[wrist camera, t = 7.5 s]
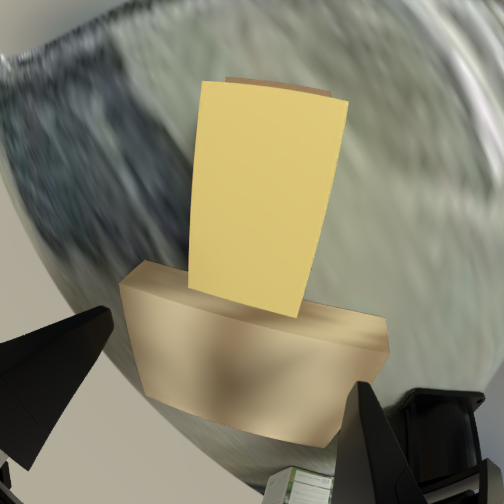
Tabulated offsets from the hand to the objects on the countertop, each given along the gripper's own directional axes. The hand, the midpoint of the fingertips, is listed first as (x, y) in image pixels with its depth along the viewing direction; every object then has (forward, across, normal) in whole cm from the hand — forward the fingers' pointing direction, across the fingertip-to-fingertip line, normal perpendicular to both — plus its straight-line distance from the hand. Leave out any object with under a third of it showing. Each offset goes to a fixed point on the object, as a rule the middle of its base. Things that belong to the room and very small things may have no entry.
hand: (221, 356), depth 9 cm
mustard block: (+4, 0, -1) cm, 4 cm away
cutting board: (+6, 0, +6) cm, 8 cm away
